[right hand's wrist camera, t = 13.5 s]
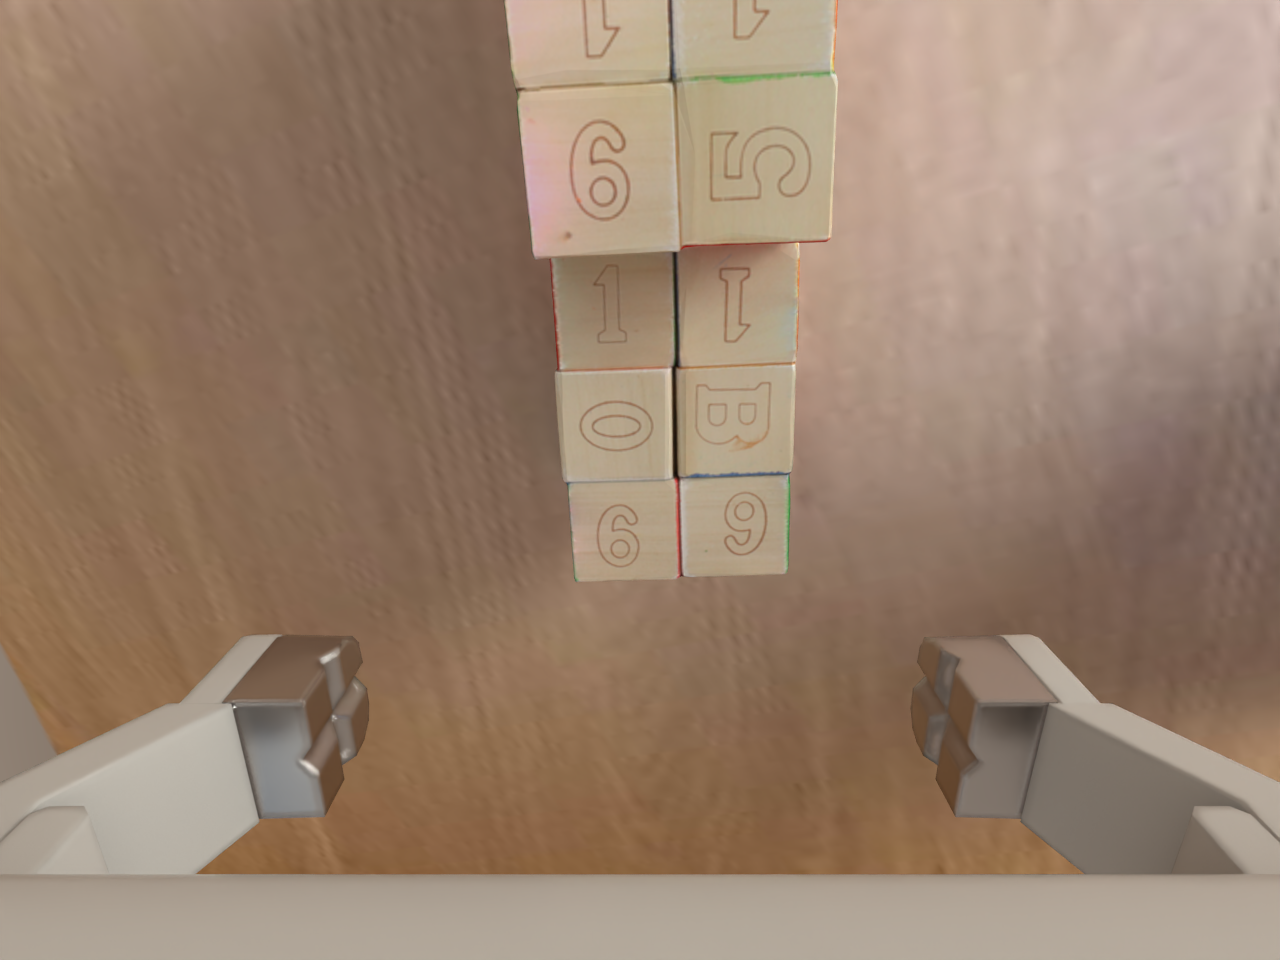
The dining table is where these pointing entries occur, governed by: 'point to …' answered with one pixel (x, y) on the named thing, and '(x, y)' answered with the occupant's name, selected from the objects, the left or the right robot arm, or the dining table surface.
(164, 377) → the dining table surface
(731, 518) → the stack of blocks
